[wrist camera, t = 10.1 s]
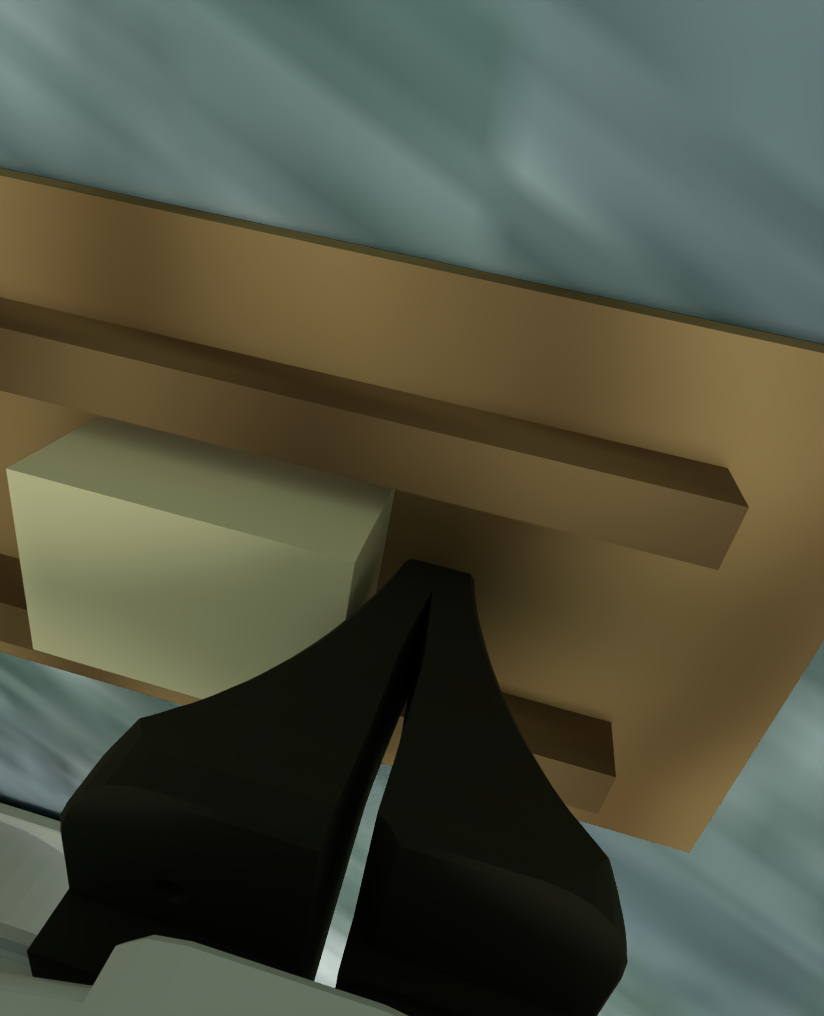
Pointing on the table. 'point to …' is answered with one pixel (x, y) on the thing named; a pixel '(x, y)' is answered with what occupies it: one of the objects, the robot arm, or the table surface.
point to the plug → (188, 554)
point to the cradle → (464, 464)
